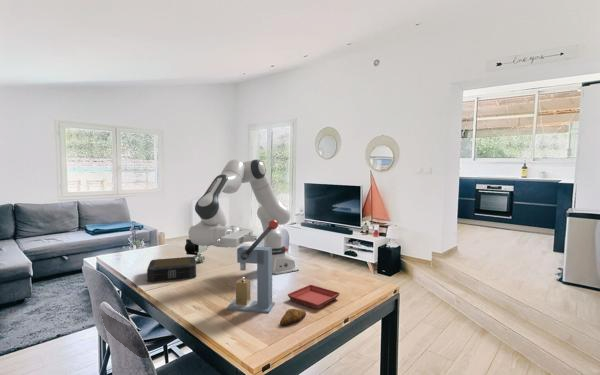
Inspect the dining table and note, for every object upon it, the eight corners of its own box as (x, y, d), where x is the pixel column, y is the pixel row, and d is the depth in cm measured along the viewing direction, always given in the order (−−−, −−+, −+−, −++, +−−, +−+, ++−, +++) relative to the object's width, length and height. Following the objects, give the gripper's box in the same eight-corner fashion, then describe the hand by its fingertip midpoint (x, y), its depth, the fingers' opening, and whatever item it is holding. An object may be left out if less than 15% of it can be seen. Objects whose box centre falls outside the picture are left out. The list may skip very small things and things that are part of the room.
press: (226, 309, 144) (225, 250, 142) (234, 300, 153) (234, 245, 152) (268, 313, 140) (268, 252, 139) (274, 303, 150) (274, 246, 148)
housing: (235, 304, 146) (235, 279, 146) (239, 300, 151) (239, 275, 151) (246, 305, 146) (246, 279, 145) (250, 301, 150) (250, 276, 150)
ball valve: (197, 266, 206) (196, 238, 205) (184, 265, 208) (184, 237, 206) (210, 258, 223) (210, 232, 222) (198, 258, 225) (198, 232, 224)
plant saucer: (310, 290, 167) (310, 283, 167) (340, 299, 156) (340, 292, 156) (286, 301, 153) (286, 294, 153) (318, 312, 142) (318, 304, 142)
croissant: (299, 313, 141) (299, 301, 141) (310, 318, 136) (310, 306, 136) (274, 323, 131) (274, 311, 131) (286, 329, 126) (286, 316, 126)
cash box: (146, 283, 176) (146, 269, 175) (151, 272, 195) (150, 259, 194) (196, 279, 184) (196, 265, 183) (195, 268, 203) (195, 256, 202)
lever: (237, 256, 139) (271, 218, 136) (241, 253, 143) (274, 217, 140) (244, 262, 139) (278, 225, 135) (247, 260, 143) (280, 223, 139)
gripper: (213, 234, 132) (246, 236, 129) (234, 225, 152) (263, 227, 149) (213, 250, 132) (246, 252, 129) (234, 239, 152) (263, 240, 149)
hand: (255, 238), depth 139 cm, fingers closed, pressing on lever
